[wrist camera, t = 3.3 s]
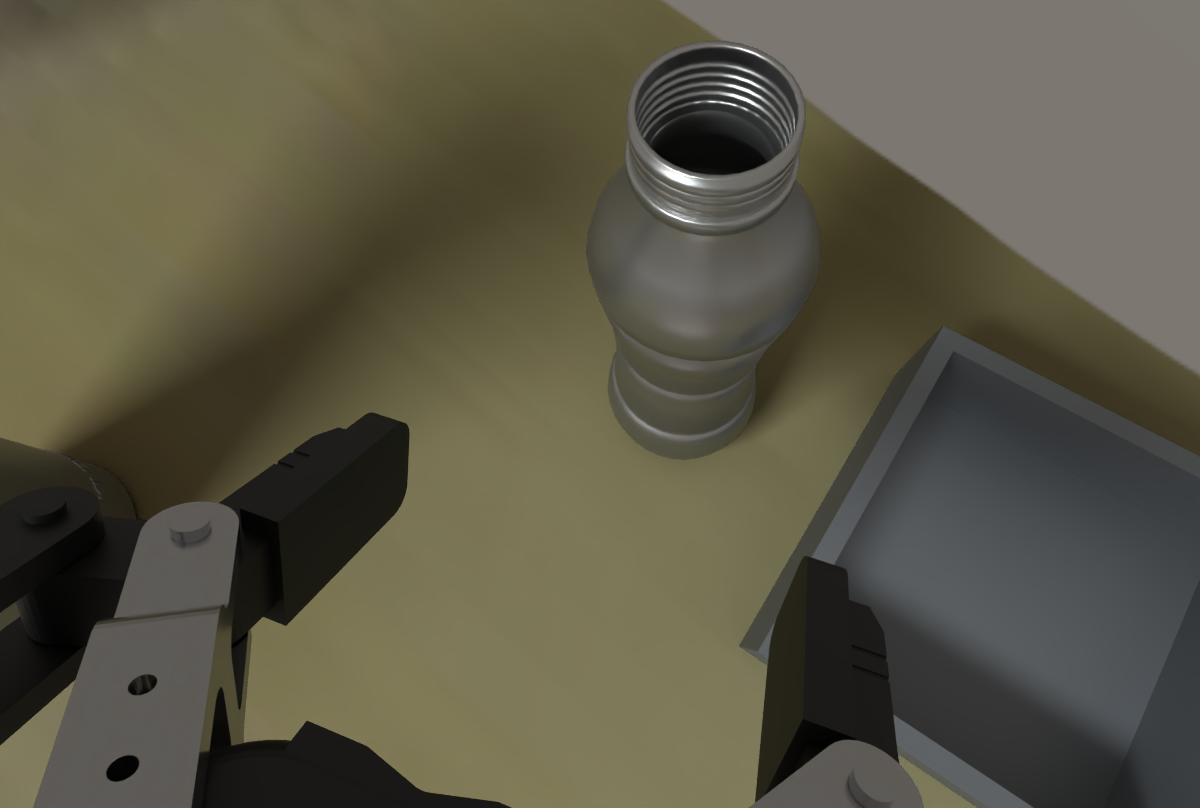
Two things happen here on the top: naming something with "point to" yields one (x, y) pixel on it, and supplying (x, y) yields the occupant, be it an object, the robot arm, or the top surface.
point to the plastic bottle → (702, 243)
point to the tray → (1022, 585)
